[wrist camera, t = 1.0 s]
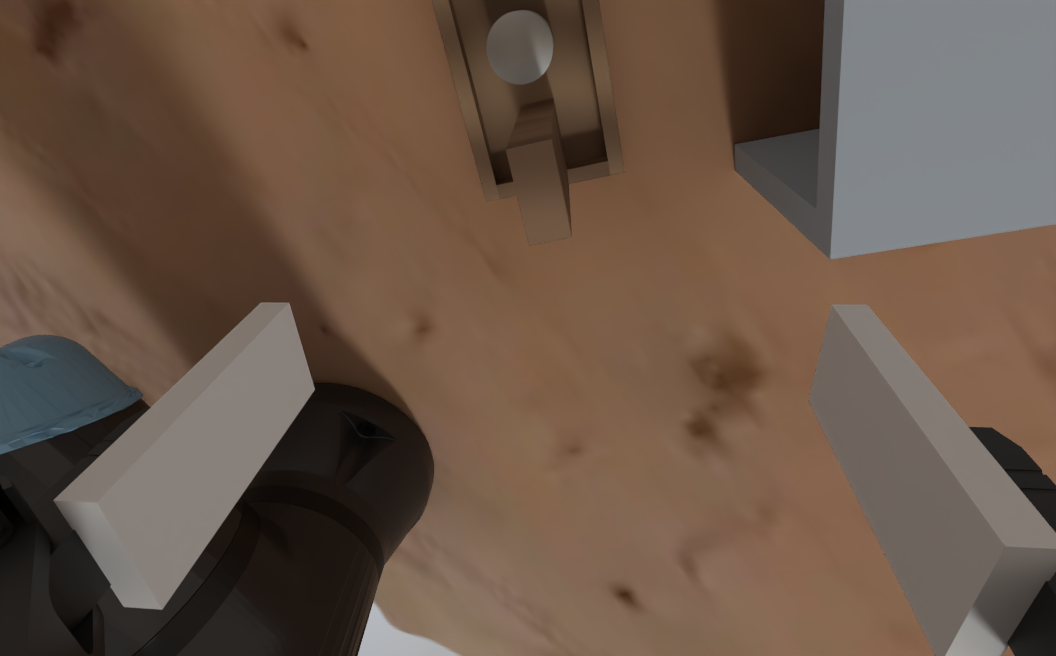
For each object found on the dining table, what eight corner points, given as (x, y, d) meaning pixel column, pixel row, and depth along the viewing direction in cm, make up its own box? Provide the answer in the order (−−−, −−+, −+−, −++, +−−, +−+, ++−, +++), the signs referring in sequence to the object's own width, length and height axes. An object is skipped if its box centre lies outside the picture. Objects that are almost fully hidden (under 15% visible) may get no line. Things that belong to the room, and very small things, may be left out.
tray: (621, 163, 34) (649, 233, 24) (489, 192, 35) (461, 271, 25) (568, -181, 27) (575, -303, 16) (404, -130, 28) (311, -212, 17)
